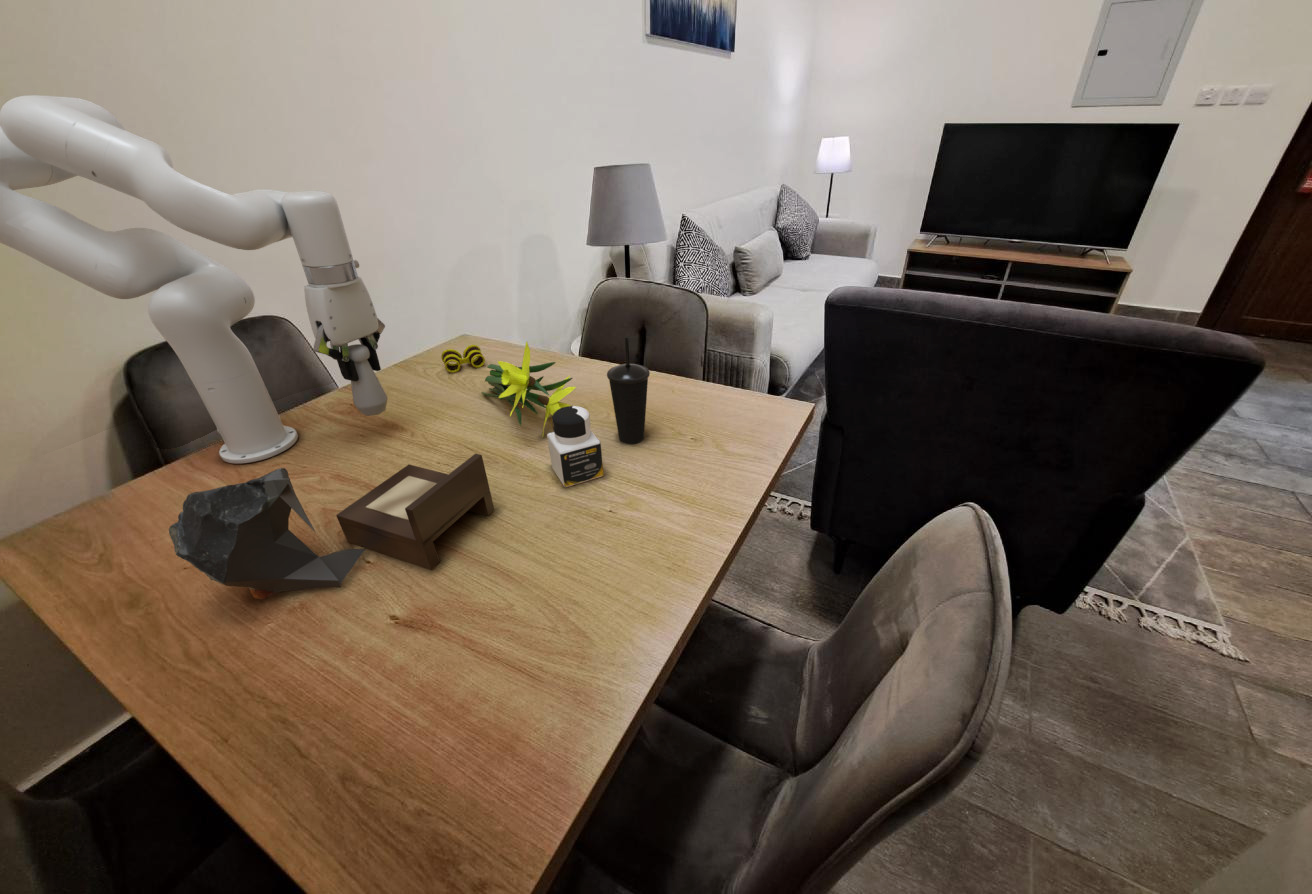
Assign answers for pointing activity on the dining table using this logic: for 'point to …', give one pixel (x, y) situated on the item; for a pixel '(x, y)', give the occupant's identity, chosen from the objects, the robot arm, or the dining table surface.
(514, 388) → the daffodil flowers
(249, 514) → the dark grey irregular lump
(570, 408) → the medicine bottle
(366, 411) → the salt shaker
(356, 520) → the dark wooden box
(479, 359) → the opera glasses
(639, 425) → the drinking cup
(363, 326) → the robot arm
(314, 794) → the dining table surface
